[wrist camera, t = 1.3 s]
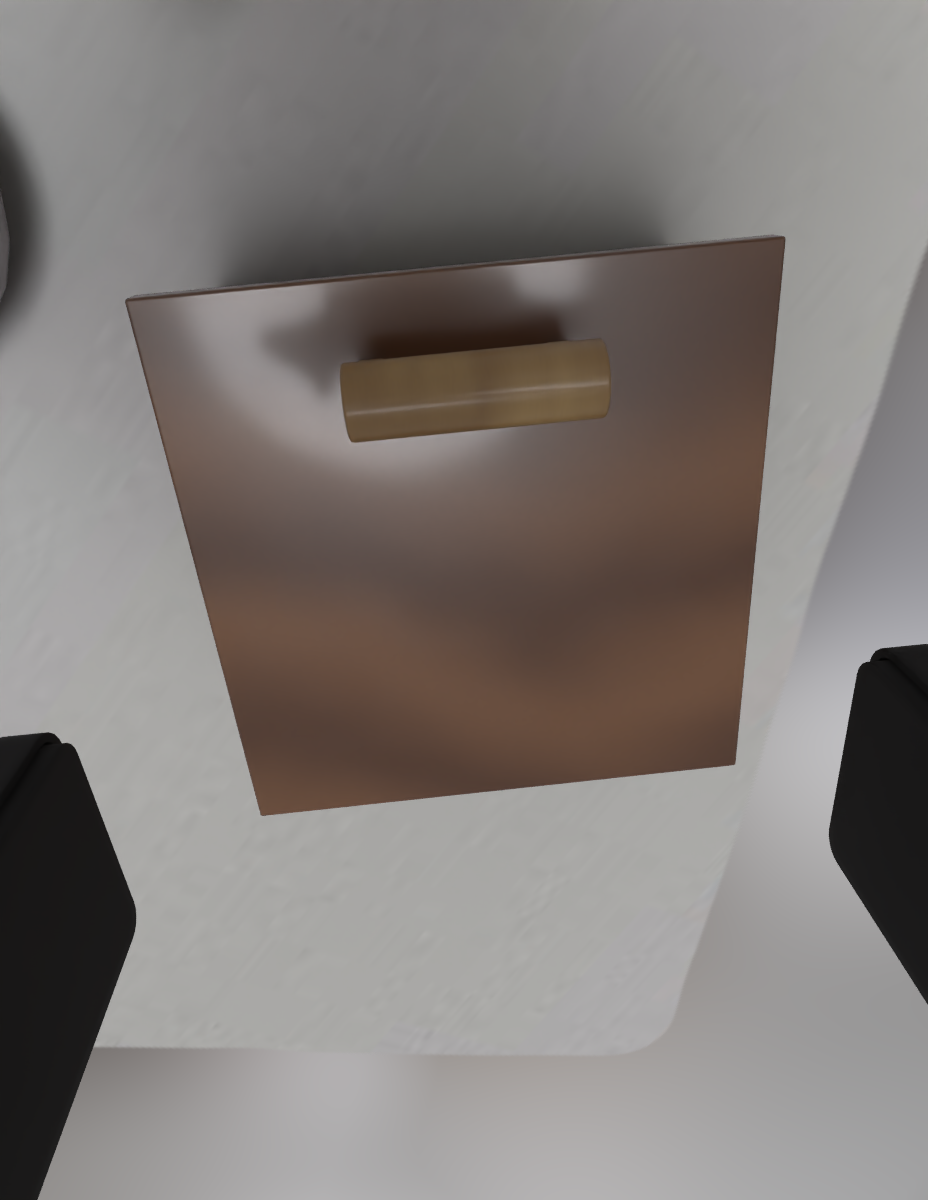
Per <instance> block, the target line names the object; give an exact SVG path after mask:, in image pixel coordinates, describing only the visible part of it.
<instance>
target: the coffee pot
mask: <svg viewBox="0 0 928 1200" xmlns="http://www.w3.org/2000/svg"><path fill="white" fill-rule="evenodd" d="M9 245H10V236H9V231H8V226H7V220H6V215H5V210H4V205H3V199H2V194H1V189H0V302H1V299H2V297H3V294H4V291H5V289H6V286H7V275H8V260H9Z"/></svg>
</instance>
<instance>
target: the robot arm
mask: <svg viewBox="0 0 928 1200" xmlns="http://www.w3.org/2000/svg"><path fill="white" fill-rule="evenodd" d="M829 840H830V846H831V850H832V853H833V855H834V858H835V860H836V862H837V863H838V865H839V866H840V868H841V870H842V871H843V873H844V874H845V876H846V877H847V879H848V881H849V882H850V884H851V885H852V887H853V888H854V890H855V891H856V893H857V895H858V896H859V898H860V899H861V901H862V902H863V904H864V905H865V907H866V909H867V910H868V912H869V913H870V915H871V916H872V918H873V920H874V921H875V923H876V924H877V926H878V927H879V929H880V931H881V932H882V934H883V935H884V937H885V938H886V940H887V941H888V943H889V945H890V946H891V948H892V949H893V951H894V952H895V954H896V956H897V957H898V959H899V960H900V962H901V963H902V965H903V966H904V968H905V970H906V971H907V973H908V974H909V976H910V977H911V979H912V980H913V982H914V984H915V985H916V987H917V988H918V990H919V991H920V993H921V995H922V996H923V998H924V999H925V1001H926V1003H927V1004H928V644H921V645H911V646H901V647H891V648H882V649H879V650H877V651H875V653H874V654H873V656H872V657H871V660H870V662H866V663H863V664H862V665H861V666H860V667H859V670H858V673H857V677H856V683H855V688H854V694H853V700H852V705H851V711H850V716H849V722H848V727H847V734H846V738H845V744H844V750H843V755H842V761H841V767H840V772H839V777H838V783H837V788H836V794H835V800H834V805H833V811H832V816H831V822H830V828H829ZM135 927H136V908H135V904H134V901H133V898H132V896H131V893H130V890H129V888H128V885H127V882H126V880H125V877H124V875H123V872H122V869H121V867H120V864H119V861H118V859H117V856H116V853H115V851H114V848H113V846H112V843H111V840H110V838H109V835H108V832H107V830H106V827H105V824H104V822H103V819H102V817H101V814H100V811H99V809H98V806H97V803H96V801H95V798H94V795H93V793H92V790H91V788H90V785H89V782H88V780H87V777H86V774H85V772H84V769H83V766H82V764H81V761H80V759H79V756H78V753H77V751H76V749H75V748H74V747H73V746H72V745H71V744H69V743H61V741H60V740H59V738H58V737H57V736H56V735H55V734H52V733H49V732H48V733H38V734H28V735H18V736H8V737H1V738H0V1200H37V1199H38V1197H39V1194H40V1191H41V1188H42V1186H43V1182H44V1180H45V1177H46V1174H47V1172H48V1169H49V1166H50V1163H51V1161H52V1158H53V1155H54V1153H55V1150H56V1147H57V1145H58V1142H59V1139H60V1136H61V1134H62V1131H63V1128H64V1125H65V1123H66V1120H67V1117H68V1114H69V1112H70V1109H71V1106H72V1103H73V1101H74V1098H75V1095H76V1092H77V1090H78V1087H79V1084H80V1082H81V1079H82V1076H83V1073H84V1071H85V1068H86V1065H87V1062H88V1060H89V1057H90V1054H91V1051H92V1049H93V1046H94V1043H95V1041H96V1038H97V1035H98V1032H99V1030H100V1027H101V1024H102V1021H103V1019H104V1016H105V1013H106V1010H107V1008H108V1005H109V1002H110V999H111V997H112V994H113V991H114V989H115V986H116V983H117V980H118V978H119V975H120V972H121V969H122V967H123V964H124V961H125V958H126V956H127V953H128V950H129V947H130V945H131V942H132V939H133V936H134V932H135Z"/></svg>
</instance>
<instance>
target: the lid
mask: <svg viewBox="0 0 928 1200" xmlns="http://www.w3.org/2000/svg"><path fill="white" fill-rule="evenodd" d="M784 249H785V237H784V236H779V235H764V236H753V237H743V238H732V239H722V240H711V241H701V242H690V243H680V244H669V245H659V246H648V247H638V248H627V249H617V250H606V251H596V252H585V253H575V254H564V255H554V256H543V257H533V258H522V259H512V260H501V261H491V262H480V263H470V264H459V265H448V266H438V267H427V268H417V269H406V270H396V271H385V272H375V273H364V274H354V275H343V276H333V277H322V278H312V279H301V280H291V281H280V282H270V283H259V284H249V285H238V286H228V287H217V288H207V289H196V290H186V291H175V292H165V293H154V294H144V295H135V296H132V297H130V298H127V299H126V301H125V303H126V307H127V311H128V314H129V318H130V322H131V326H132V329H133V333H134V337H135V341H136V345H137V348H138V352H139V356H140V360H141V364H142V367H143V371H144V375H145V379H146V382H147V386H148V390H149V394H150V398H151V401H152V405H153V409H154V413H155V416H156V420H157V424H158V428H159V432H160V435H161V439H162V443H163V447H164V451H165V454H166V458H167V462H168V466H169V469H170V473H171V477H172V481H173V485H174V488H175V492H176V496H177V500H178V504H179V507H180V511H181V515H182V519H183V522H184V526H185V530H186V534H187V538H188V541H189V545H190V549H191V553H192V556H193V560H194V564H195V568H196V572H197V575H198V579H199V583H200V587H201V591H202V594H203V598H204V602H205V606H206V609H207V613H208V617H209V621H210V625H211V628H212V632H213V636H214V640H215V643H216V647H217V651H218V655H219V659H220V662H221V666H222V670H223V674H224V678H225V681H226V685H227V689H228V693H229V696H230V700H231V704H232V708H233V712H234V715H235V719H236V723H237V727H238V731H239V734H240V738H241V742H242V746H243V749H244V753H245V757H246V761H247V765H248V768H249V772H250V776H251V780H252V783H253V787H254V791H255V795H256V799H257V802H258V806H259V810H260V814H261V815H262V816H266V815H275V814H284V813H293V812H303V811H312V810H321V809H330V808H340V807H349V806H358V805H368V804H377V803H386V802H395V801H405V800H414V799H423V798H433V797H442V796H451V795H460V794H470V793H479V792H488V791H497V790H507V789H516V788H525V787H535V786H544V785H553V784H562V783H572V782H581V781H590V780H600V779H609V778H618V777H627V776H637V775H646V774H655V773H664V772H674V771H683V770H692V769H702V768H711V767H720V766H729V765H735V761H736V751H737V740H738V730H739V719H740V709H741V698H742V688H743V678H744V667H745V657H746V646H747V636H748V625H749V615H750V604H751V594H752V584H753V573H754V563H755V552H756V542H757V531H758V521H759V510H760V500H761V489H762V479H763V469H764V458H765V448H766V437H767V427H768V416H769V406H770V395H771V385H772V374H773V364H774V354H775V343H776V333H777V322H778V312H779V301H780V291H781V280H782V270H783V260H784Z"/></svg>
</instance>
